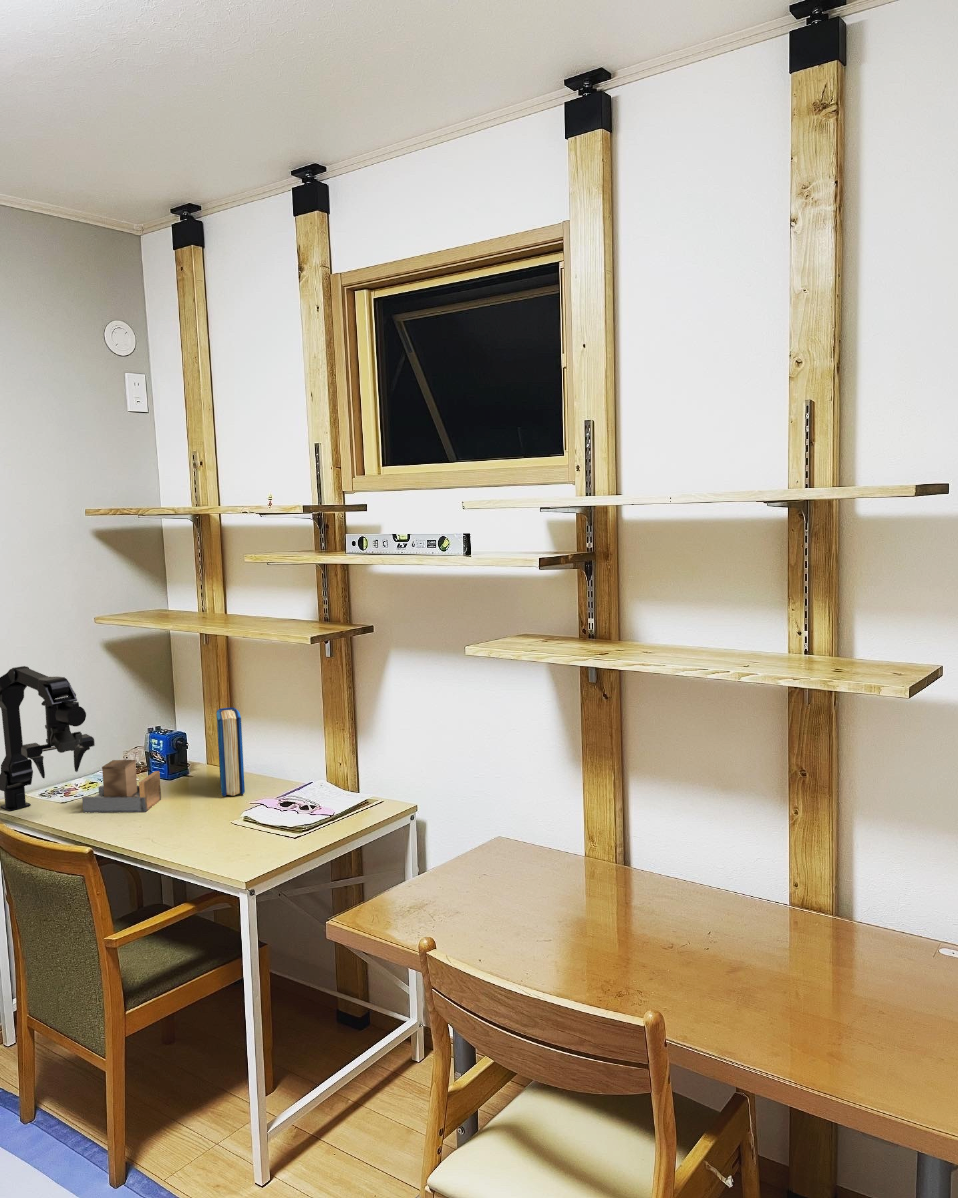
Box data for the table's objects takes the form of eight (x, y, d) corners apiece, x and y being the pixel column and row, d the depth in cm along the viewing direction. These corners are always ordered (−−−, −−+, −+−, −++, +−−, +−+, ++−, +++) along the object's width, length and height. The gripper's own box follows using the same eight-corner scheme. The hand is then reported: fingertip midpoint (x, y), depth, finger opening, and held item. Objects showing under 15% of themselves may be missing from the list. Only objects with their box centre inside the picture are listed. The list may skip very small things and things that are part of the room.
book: (219, 779, 316) (215, 705, 313) (241, 777, 318) (237, 703, 315) (221, 798, 295) (217, 719, 293) (245, 796, 297) (241, 717, 295)
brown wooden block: (104, 799, 286) (101, 767, 285) (114, 791, 294) (112, 760, 293) (127, 799, 286) (125, 766, 285) (137, 791, 294) (135, 759, 293)
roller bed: (83, 812, 285) (81, 783, 284) (101, 800, 296) (99, 771, 296) (145, 812, 284) (144, 782, 283) (161, 799, 295) (159, 771, 295)
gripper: (32, 732, 262) (35, 787, 264) (100, 721, 274) (103, 774, 276) (19, 725, 270) (22, 779, 272) (85, 714, 283) (88, 766, 284)
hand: (60, 774), depth 276 cm, fingers open, 9 cm apart
